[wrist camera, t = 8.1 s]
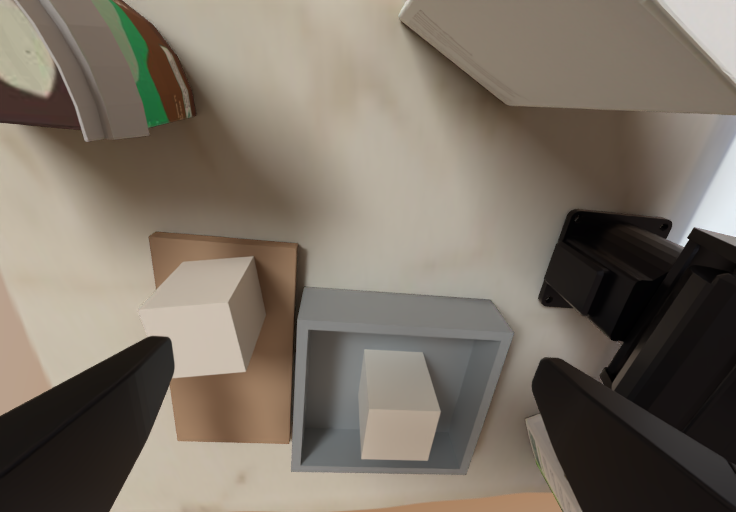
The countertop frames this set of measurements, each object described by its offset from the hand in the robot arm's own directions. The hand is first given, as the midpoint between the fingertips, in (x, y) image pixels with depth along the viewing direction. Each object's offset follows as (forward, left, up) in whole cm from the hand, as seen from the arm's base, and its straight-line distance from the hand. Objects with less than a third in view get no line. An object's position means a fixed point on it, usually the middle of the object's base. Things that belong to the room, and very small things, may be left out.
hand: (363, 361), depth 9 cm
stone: (-4, +12, -12) cm, 17 cm away
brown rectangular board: (+7, +11, -13) cm, 18 cm away
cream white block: (+7, +6, -12) cm, 15 cm away
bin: (-4, +12, -13) cm, 18 cm away
